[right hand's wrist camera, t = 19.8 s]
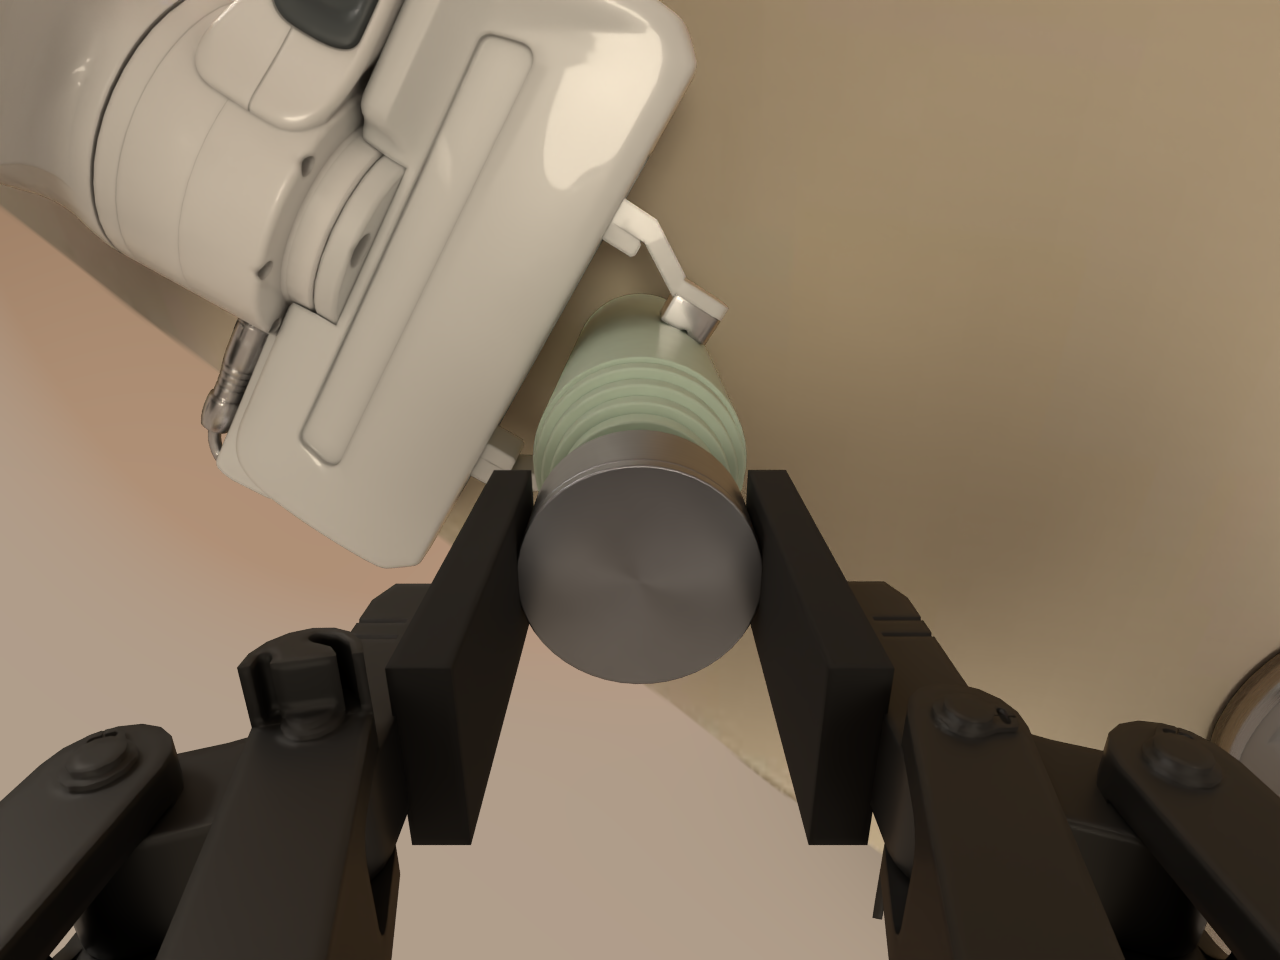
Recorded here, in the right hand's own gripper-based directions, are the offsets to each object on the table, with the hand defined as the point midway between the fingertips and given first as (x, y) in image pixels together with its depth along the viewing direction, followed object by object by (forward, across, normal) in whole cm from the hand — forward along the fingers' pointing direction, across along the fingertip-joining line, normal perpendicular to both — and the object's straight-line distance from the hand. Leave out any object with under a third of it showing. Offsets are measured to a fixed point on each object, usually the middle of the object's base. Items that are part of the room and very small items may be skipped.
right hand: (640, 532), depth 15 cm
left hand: (+11, -1, 0) cm, 11 cm away
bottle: (+18, 0, 0) cm, 18 cm away
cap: (-2, 0, 0) cm, 2 cm away
